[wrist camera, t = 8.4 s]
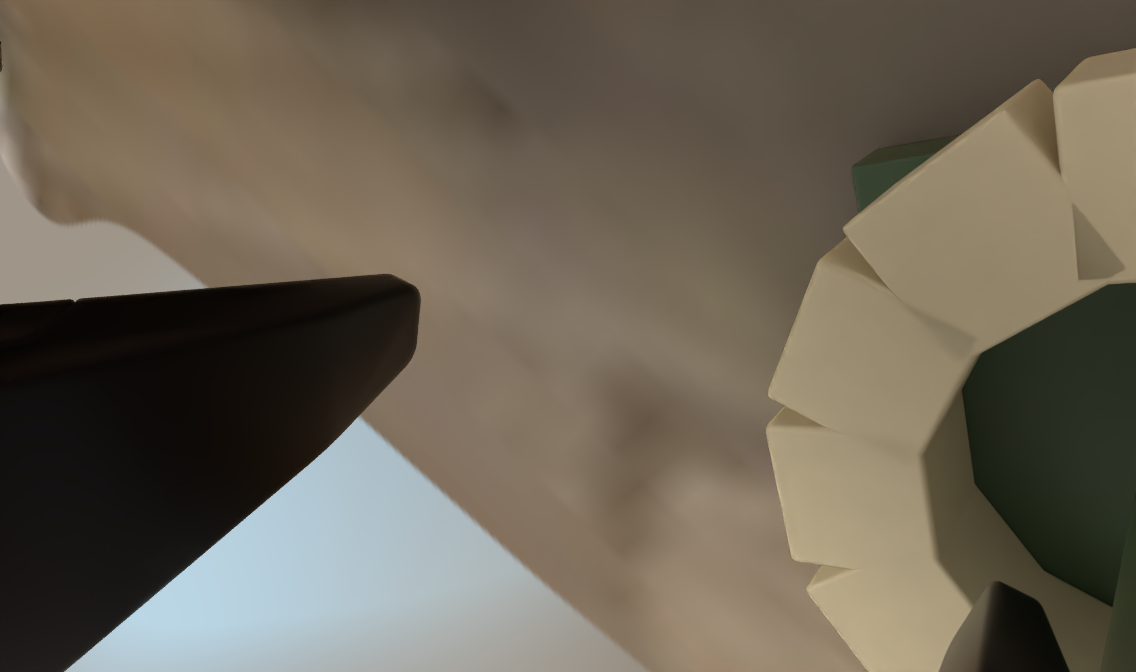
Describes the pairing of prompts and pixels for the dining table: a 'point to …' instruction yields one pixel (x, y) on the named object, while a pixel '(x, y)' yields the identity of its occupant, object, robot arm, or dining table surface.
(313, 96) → the dining table surface
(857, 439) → the ring
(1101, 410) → the peg stand
